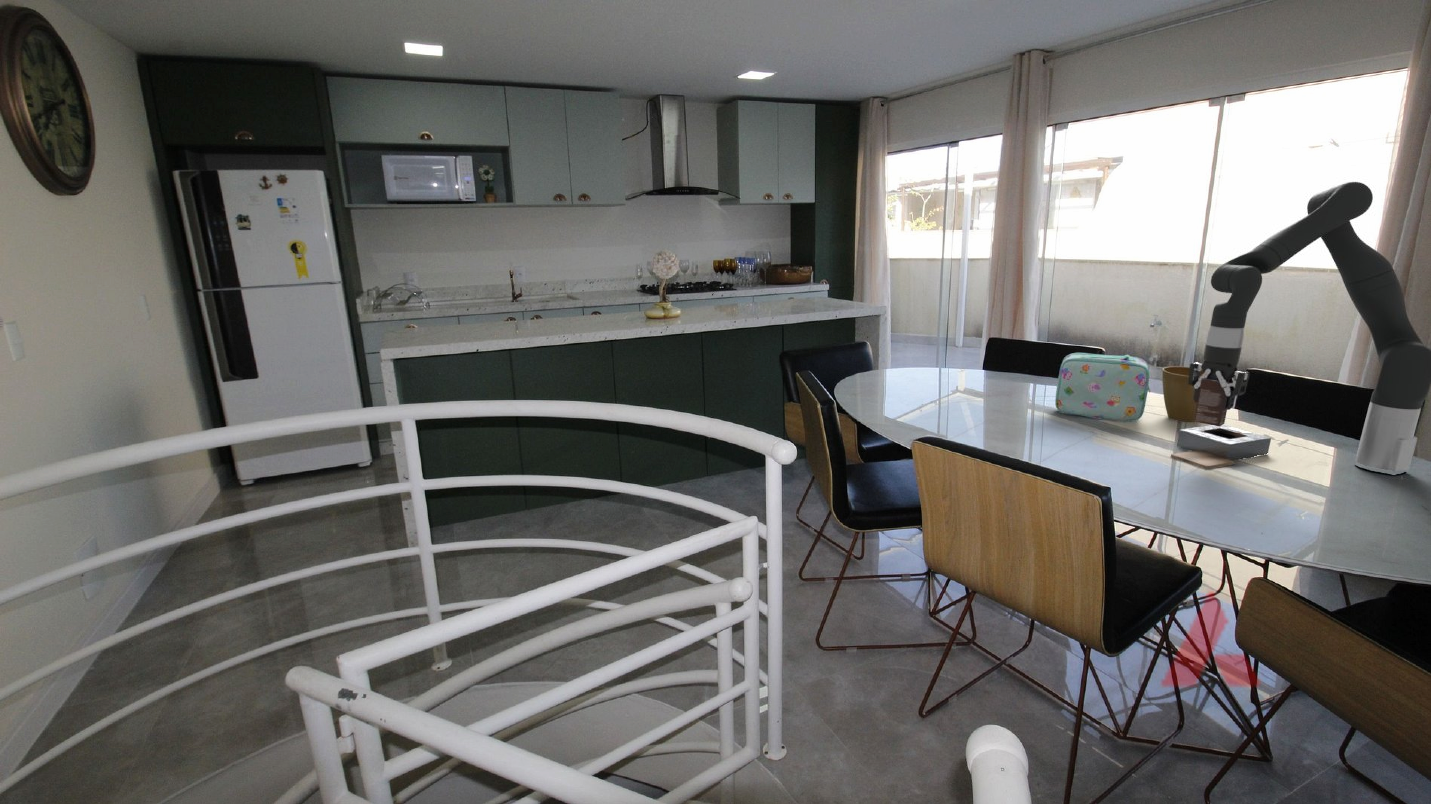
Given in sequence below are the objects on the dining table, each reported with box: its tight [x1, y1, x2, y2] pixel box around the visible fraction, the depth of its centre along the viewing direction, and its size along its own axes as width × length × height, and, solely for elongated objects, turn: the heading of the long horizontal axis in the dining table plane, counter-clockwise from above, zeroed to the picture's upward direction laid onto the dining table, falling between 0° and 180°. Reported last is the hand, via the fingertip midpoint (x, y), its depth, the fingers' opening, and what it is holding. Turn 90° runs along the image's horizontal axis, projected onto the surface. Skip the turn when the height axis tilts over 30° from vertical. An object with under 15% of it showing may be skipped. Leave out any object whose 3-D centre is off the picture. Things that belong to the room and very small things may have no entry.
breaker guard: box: [1176, 424, 1272, 462], centre depth 187 cm, size 14×16×5 cm
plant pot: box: [1161, 365, 1204, 423], centre depth 216 cm, size 15×15×16 cm
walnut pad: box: [1170, 450, 1235, 470], centre depth 180 cm, size 10×10×1 cm
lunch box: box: [1054, 352, 1151, 422], centre depth 219 cm, size 27×10×21 cm, turn 59°
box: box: [1193, 378, 1231, 427], centre depth 176 cm, size 6×4×12 cm
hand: (1212, 405), depth 176 cm, fingers closed on box, 7 cm apart
